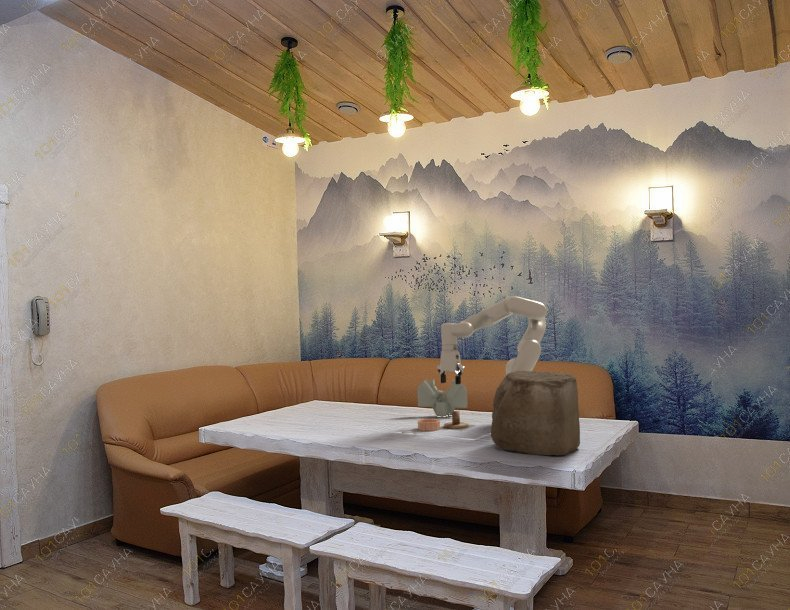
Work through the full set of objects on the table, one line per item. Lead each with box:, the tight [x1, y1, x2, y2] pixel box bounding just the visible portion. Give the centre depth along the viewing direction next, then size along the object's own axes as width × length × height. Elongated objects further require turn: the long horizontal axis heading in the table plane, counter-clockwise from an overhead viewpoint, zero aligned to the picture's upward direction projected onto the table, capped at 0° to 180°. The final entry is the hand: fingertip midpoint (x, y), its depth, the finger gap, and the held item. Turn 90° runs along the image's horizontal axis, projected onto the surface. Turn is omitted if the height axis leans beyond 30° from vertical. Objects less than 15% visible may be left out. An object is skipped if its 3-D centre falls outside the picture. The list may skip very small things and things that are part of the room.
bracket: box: [416, 378, 468, 417], centre depth 338 cm, size 28×7×20 cm, turn 67°
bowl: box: [417, 418, 441, 432], centre depth 300 cm, size 10×10×4 cm
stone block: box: [490, 370, 581, 456], centre depth 254 cm, size 35×25×30 cm
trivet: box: [439, 424, 477, 431], centre depth 303 cm, size 14×14×1 cm
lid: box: [443, 410, 469, 430], centre depth 303 cm, size 12×12×7 cm
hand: (450, 383), depth 310 cm, fingers open, 9 cm apart
